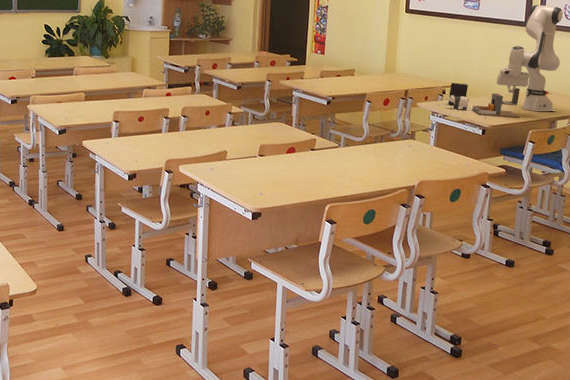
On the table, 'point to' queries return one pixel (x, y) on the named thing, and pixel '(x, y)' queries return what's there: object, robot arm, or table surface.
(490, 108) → the collar
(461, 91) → the calculator
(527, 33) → the robot arm
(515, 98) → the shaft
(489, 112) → the dark grey stand
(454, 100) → the giant panda
